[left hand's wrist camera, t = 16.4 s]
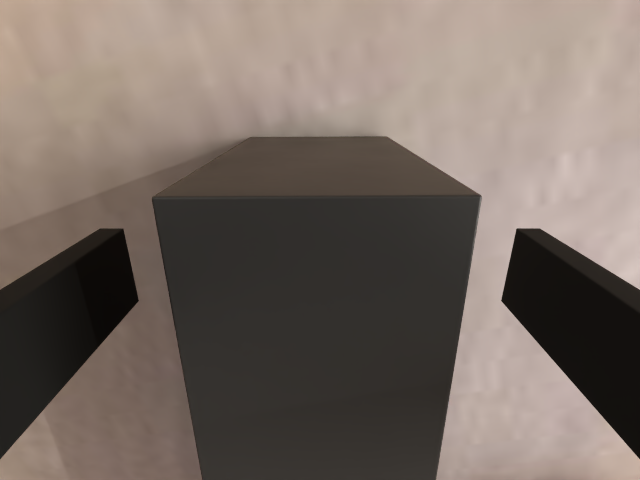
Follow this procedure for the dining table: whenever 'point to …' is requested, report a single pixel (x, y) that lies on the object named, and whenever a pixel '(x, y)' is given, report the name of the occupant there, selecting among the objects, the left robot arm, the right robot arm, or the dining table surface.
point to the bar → (317, 306)
